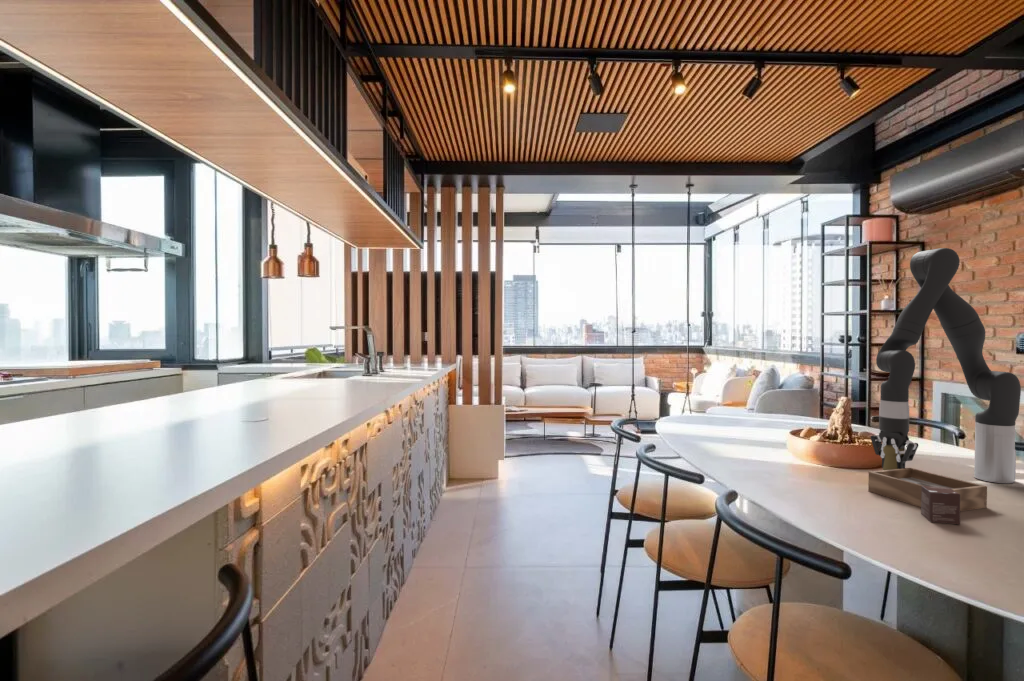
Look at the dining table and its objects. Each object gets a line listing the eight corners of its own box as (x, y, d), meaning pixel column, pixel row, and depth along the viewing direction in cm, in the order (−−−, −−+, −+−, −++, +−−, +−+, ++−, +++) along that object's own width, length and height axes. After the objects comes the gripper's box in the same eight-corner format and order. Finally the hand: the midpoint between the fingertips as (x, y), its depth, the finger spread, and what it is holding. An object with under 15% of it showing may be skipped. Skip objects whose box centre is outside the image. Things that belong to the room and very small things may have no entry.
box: (949, 517, 135) (950, 487, 135) (960, 525, 129) (961, 494, 129) (920, 514, 137) (920, 485, 137) (929, 522, 131) (930, 491, 131)
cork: (909, 484, 164) (909, 447, 163) (886, 483, 165) (887, 446, 165) (899, 478, 170) (899, 443, 169) (877, 477, 171) (877, 442, 171)
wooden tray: (910, 486, 161) (910, 467, 161) (986, 507, 142) (987, 486, 142) (868, 491, 156) (868, 471, 156) (941, 513, 137) (942, 491, 137)
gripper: (926, 418, 161) (925, 477, 161) (881, 411, 175) (880, 465, 175) (907, 419, 159) (906, 479, 159) (863, 412, 172) (862, 467, 173)
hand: (893, 472), depth 167 cm, fingers closed on cork, 3 cm apart
